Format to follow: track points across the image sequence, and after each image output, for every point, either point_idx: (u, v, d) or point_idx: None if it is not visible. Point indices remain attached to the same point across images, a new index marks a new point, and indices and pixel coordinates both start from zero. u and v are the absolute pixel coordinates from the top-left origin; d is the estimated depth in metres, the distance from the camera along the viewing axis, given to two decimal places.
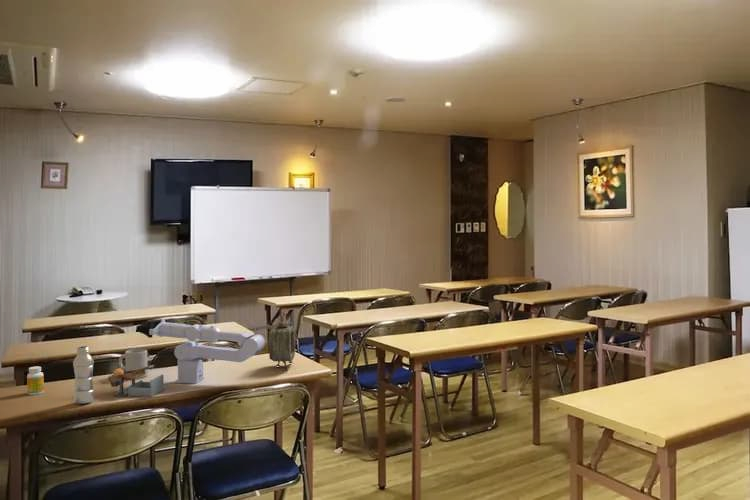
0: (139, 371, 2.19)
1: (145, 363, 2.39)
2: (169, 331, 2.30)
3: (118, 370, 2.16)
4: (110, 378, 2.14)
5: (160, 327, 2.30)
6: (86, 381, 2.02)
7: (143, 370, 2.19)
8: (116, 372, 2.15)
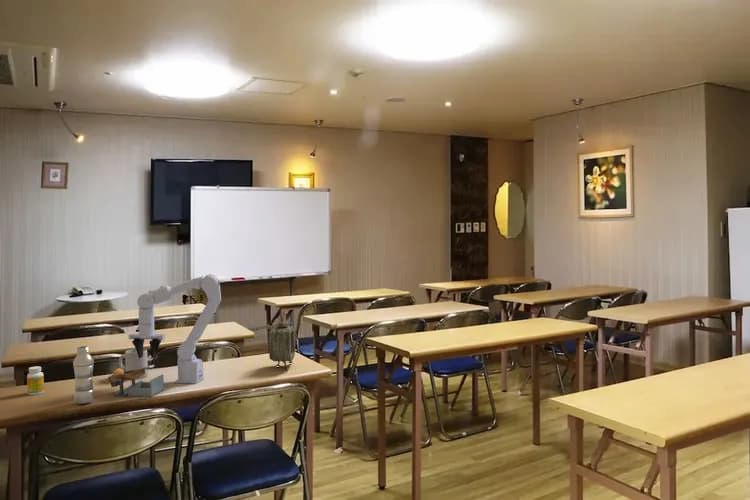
0: (139, 371, 2.19)
1: (145, 363, 2.39)
2: (153, 324, 2.28)
3: (118, 370, 2.16)
4: (110, 378, 2.14)
5: (151, 334, 2.27)
6: (86, 381, 2.02)
7: (143, 370, 2.19)
8: (116, 372, 2.15)
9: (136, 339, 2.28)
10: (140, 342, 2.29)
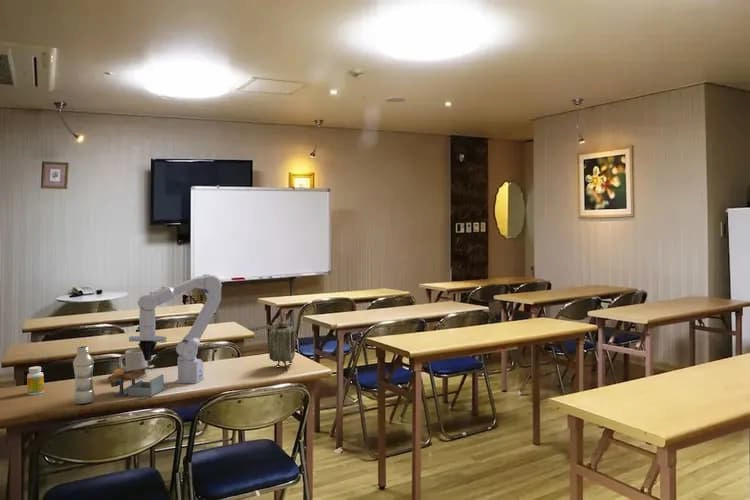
0: (139, 371, 2.19)
1: (145, 363, 2.39)
2: (154, 326, 2.23)
3: (118, 370, 2.16)
4: (110, 378, 2.14)
5: (152, 336, 2.22)
6: (86, 381, 2.02)
7: (143, 370, 2.19)
8: (116, 372, 2.15)
9: None
10: None
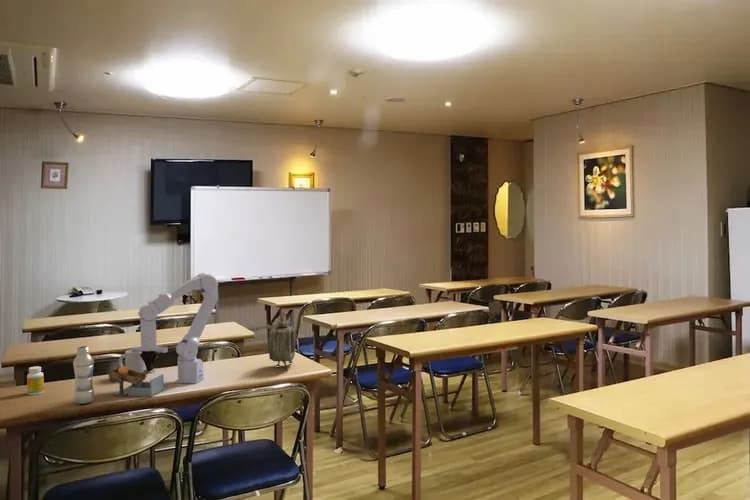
0: (140, 375, 2.19)
1: None
2: (155, 336, 2.23)
3: (125, 371, 2.15)
4: (111, 373, 2.14)
5: (153, 347, 2.22)
6: (86, 381, 2.02)
7: (144, 375, 2.19)
8: (122, 371, 2.15)
9: None
10: None
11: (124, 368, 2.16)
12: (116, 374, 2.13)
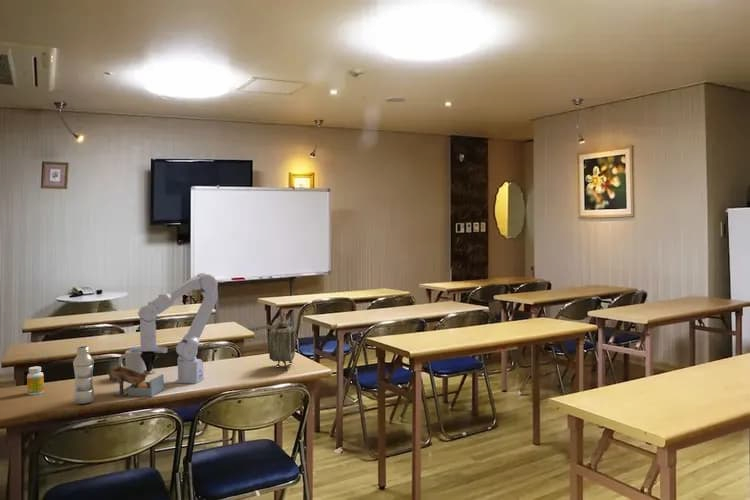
0: (140, 375, 2.19)
1: None
2: (155, 336, 2.23)
3: (139, 384, 2.15)
4: (111, 372, 2.14)
5: (153, 347, 2.22)
6: (86, 381, 2.02)
7: (144, 376, 2.19)
8: (138, 386, 2.14)
9: None
10: None
11: (137, 385, 2.15)
12: (116, 374, 2.13)
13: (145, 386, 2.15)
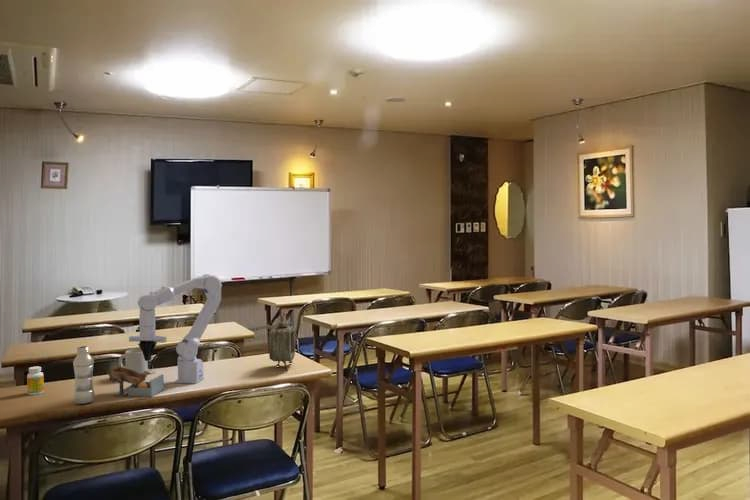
0: (140, 375, 2.19)
1: (145, 363, 2.39)
2: (154, 326, 2.23)
3: (139, 384, 2.15)
4: (111, 372, 2.14)
5: (152, 336, 2.22)
6: (86, 381, 2.02)
7: (144, 376, 2.19)
8: (138, 386, 2.14)
9: None
10: None
11: (137, 385, 2.15)
12: (116, 374, 2.13)
13: (145, 386, 2.15)
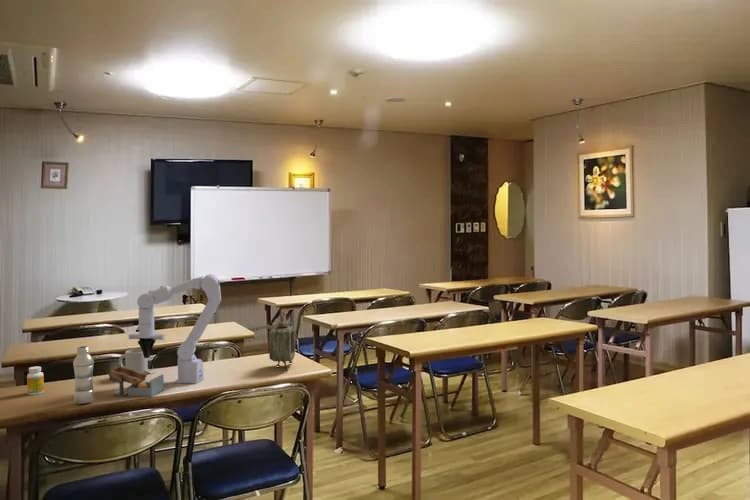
0: (140, 375, 2.19)
1: (145, 363, 2.39)
2: (153, 324, 2.28)
3: (139, 384, 2.15)
4: (111, 372, 2.14)
5: (151, 334, 2.27)
6: (86, 381, 2.02)
7: (144, 376, 2.19)
8: (138, 386, 2.14)
9: None
10: None
11: (137, 385, 2.15)
12: (116, 374, 2.13)
13: (145, 386, 2.15)
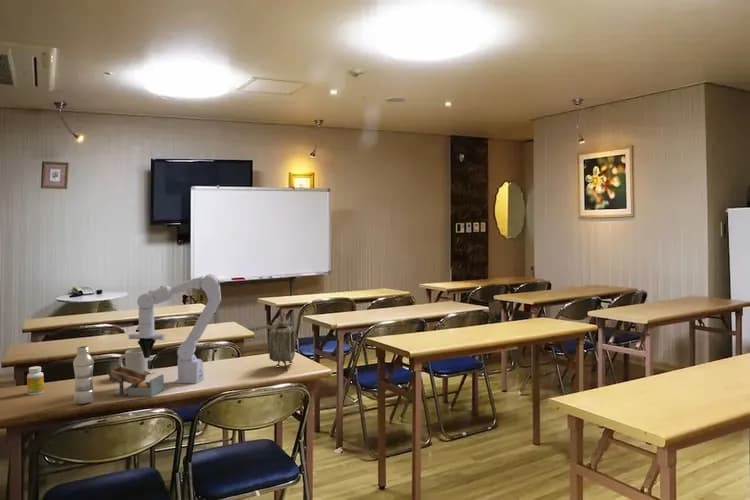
0: (140, 375, 2.19)
1: (145, 363, 2.39)
2: (153, 324, 2.28)
3: (139, 384, 2.15)
4: (111, 372, 2.14)
5: (151, 334, 2.27)
6: (86, 381, 2.02)
7: (144, 376, 2.19)
8: (138, 386, 2.14)
9: None
10: None
11: (137, 385, 2.15)
12: (116, 374, 2.13)
13: (145, 386, 2.15)
